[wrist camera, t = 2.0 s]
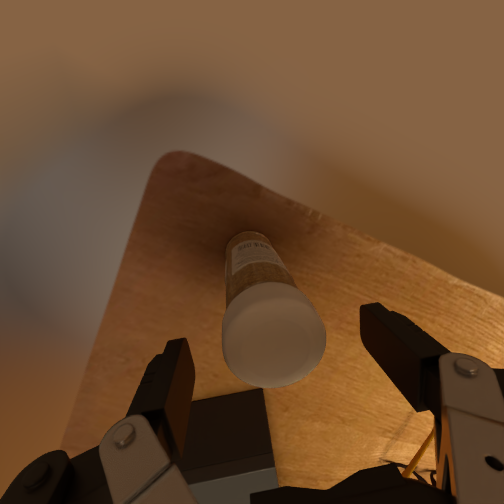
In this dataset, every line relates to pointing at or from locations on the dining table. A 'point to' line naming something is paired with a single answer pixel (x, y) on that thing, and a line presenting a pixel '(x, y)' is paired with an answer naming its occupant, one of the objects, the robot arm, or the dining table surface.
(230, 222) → the dining table surface
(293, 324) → the sprinkles bottle
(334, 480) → the dining table surface
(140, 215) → the dining table surface
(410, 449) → the dining table surface
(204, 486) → the shelf
